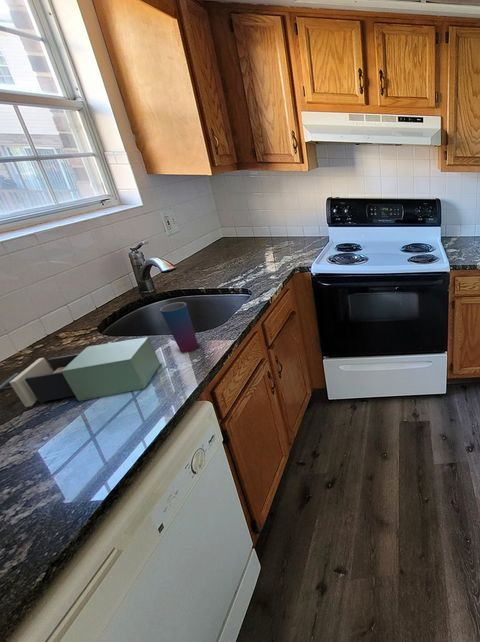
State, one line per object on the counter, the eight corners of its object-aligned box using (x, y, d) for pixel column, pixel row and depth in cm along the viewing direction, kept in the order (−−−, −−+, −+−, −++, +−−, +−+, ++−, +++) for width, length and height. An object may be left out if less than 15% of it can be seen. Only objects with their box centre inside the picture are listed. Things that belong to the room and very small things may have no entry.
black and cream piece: (-2, 412, 91) (-20, 387, 88) (28, 385, 101) (13, 362, 97) (90, 394, 96) (76, 370, 93) (110, 371, 106) (99, 348, 103)
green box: (78, 401, 95) (60, 371, 91) (102, 374, 106) (87, 346, 102) (144, 388, 100) (130, 359, 96) (160, 364, 110) (148, 336, 106)
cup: (173, 349, 118) (155, 308, 112) (195, 340, 123) (180, 300, 117) (182, 355, 114) (165, 313, 108) (205, 346, 119) (190, 304, 113)
